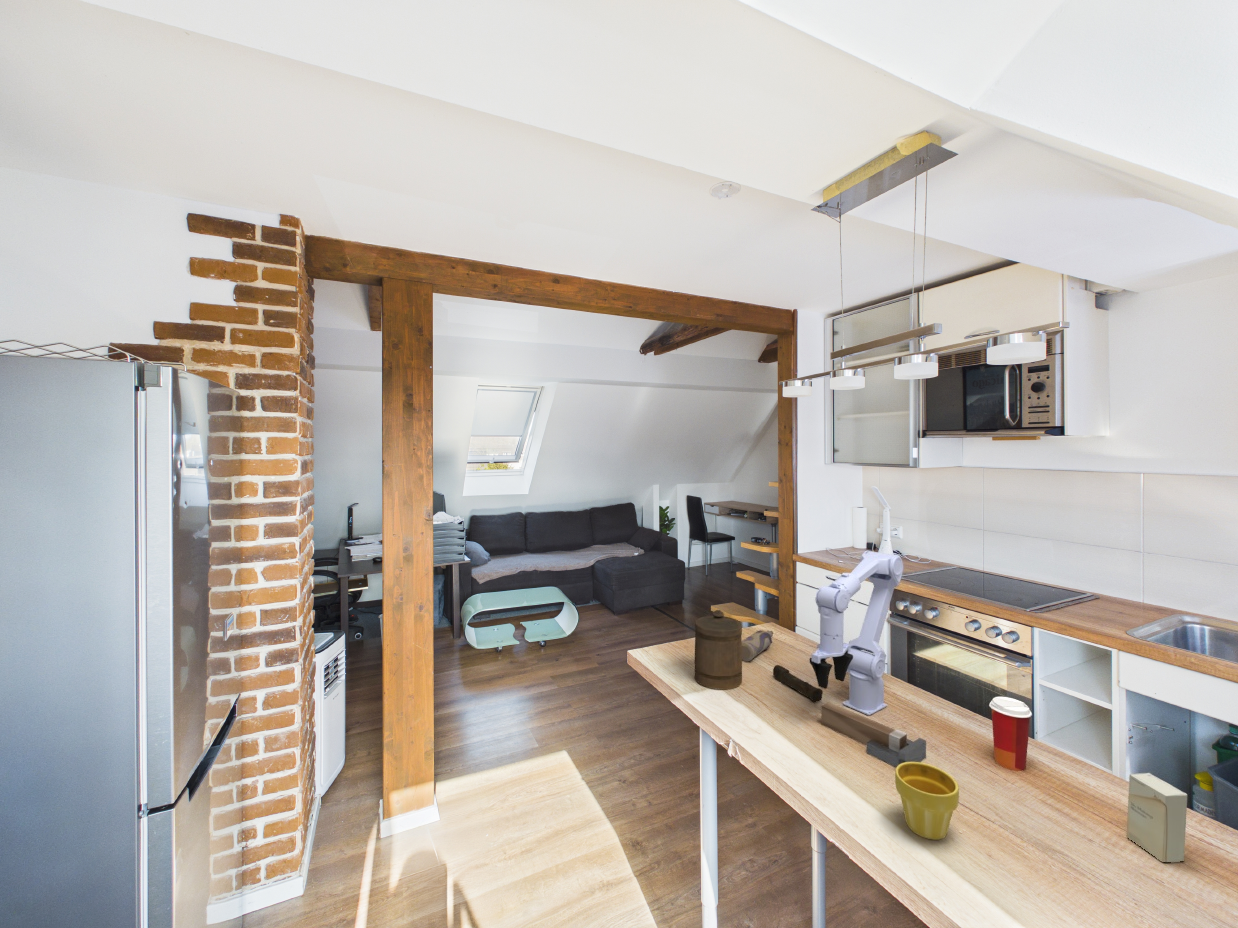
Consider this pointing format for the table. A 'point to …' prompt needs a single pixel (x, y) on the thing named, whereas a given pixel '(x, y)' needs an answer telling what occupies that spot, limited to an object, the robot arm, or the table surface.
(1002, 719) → the paper cup
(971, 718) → the table surface
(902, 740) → the walnut rail
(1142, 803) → the skincare box
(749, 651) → the decorative bottle
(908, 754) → the u-shaped metal bracket
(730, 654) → the wooden container
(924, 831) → the plant pot
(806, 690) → the hand tool
